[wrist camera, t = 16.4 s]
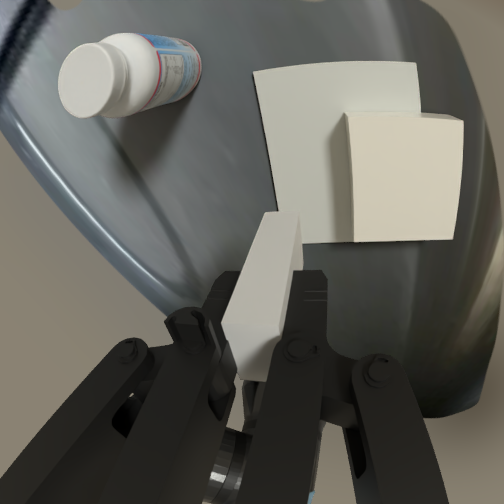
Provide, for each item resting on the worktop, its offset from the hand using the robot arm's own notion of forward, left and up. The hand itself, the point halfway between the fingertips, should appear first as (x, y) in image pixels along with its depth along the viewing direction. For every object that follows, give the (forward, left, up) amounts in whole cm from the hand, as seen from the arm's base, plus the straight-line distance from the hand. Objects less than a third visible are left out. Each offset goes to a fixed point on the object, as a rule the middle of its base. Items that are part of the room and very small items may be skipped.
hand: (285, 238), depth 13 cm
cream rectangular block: (-1, -4, -11) cm, 11 cm away
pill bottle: (+10, +10, -13) cm, 19 cm away
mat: (0, -4, -13) cm, 13 cm away
